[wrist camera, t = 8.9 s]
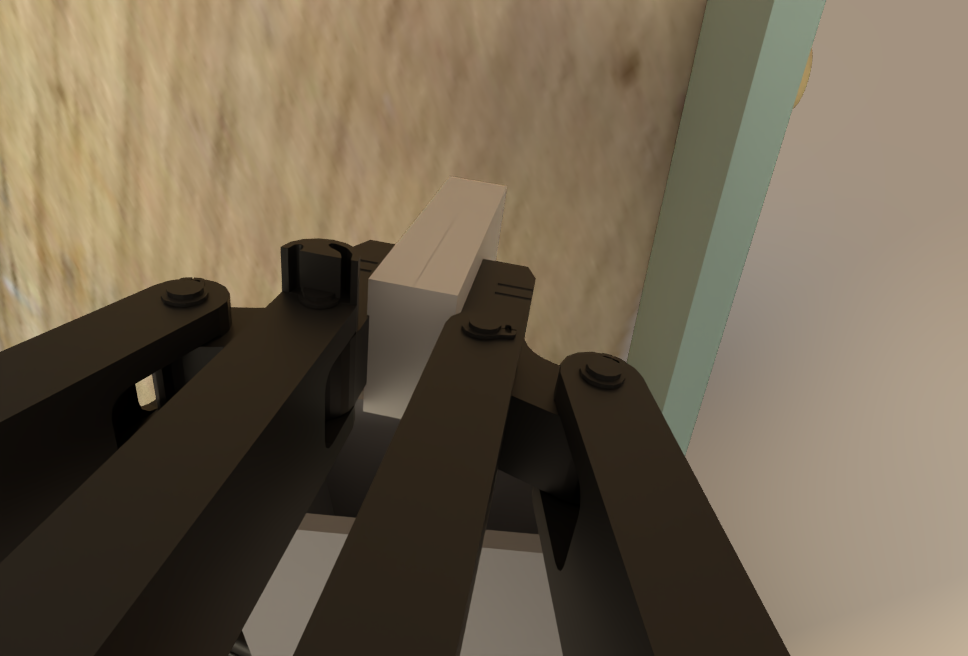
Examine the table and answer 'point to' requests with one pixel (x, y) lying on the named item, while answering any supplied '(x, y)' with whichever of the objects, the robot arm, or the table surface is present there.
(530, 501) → the cabinet
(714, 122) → the pale green rectangular block
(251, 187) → the table surface
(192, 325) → the robot arm
